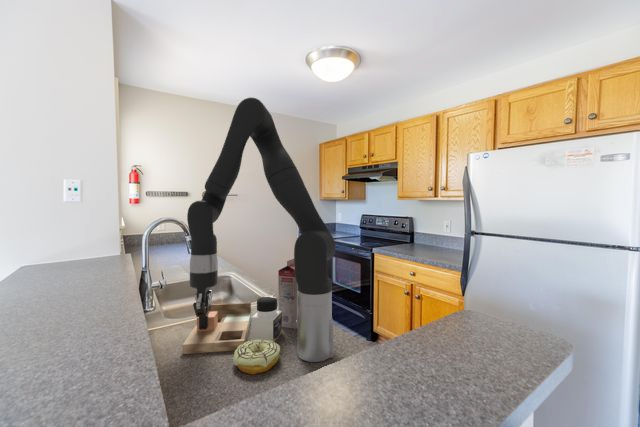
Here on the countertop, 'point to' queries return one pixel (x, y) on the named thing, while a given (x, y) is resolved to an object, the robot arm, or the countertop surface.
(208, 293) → the robot arm
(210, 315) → the block
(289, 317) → the juice carton
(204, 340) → the board
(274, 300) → the medicine bottle
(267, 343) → the decorated donut
